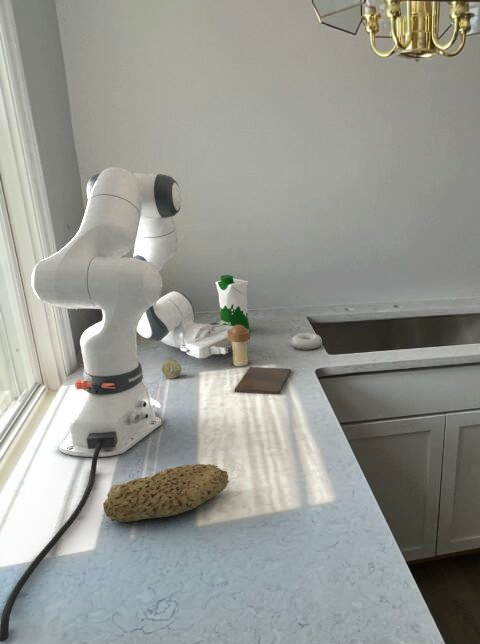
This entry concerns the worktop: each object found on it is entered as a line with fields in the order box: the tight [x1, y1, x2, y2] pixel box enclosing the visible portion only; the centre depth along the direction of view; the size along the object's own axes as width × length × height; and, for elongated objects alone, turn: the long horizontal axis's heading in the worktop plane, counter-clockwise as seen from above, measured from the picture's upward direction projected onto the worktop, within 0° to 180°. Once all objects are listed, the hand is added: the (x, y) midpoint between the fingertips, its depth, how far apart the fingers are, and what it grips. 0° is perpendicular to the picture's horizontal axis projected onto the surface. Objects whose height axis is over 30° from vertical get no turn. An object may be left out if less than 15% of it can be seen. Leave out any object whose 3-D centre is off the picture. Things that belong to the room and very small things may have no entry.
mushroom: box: [227, 325, 251, 367], centre depth 165 cm, size 6×6×12 cm
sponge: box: [102, 463, 230, 523], centre depth 101 cm, size 13×8×20 cm
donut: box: [291, 332, 323, 351], centre depth 183 cm, size 10×4×10 cm
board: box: [234, 366, 292, 395], centre depth 156 cm, size 16×12×1 cm
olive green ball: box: [161, 359, 182, 379], centre depth 156 cm, size 4×5×5 cm
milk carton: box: [215, 274, 251, 331], centre depth 191 cm, size 9×9×20 cm
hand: (237, 346), depth 166 cm, fingers open, 8 cm apart
